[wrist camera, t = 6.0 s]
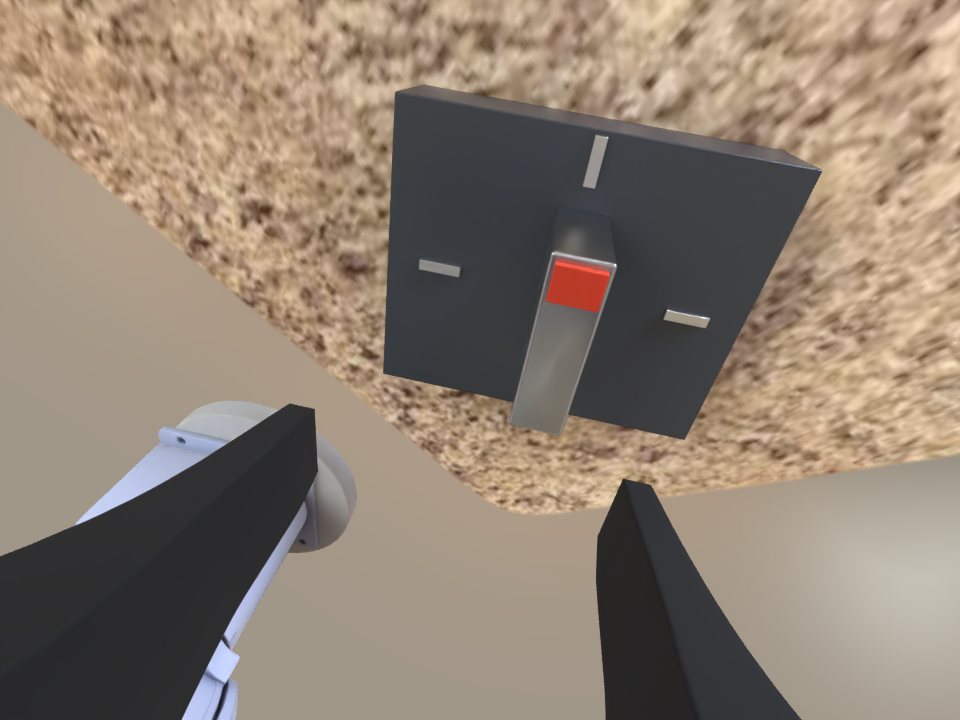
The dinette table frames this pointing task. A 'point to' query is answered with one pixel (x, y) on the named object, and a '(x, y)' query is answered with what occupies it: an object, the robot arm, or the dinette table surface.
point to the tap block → (525, 235)
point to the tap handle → (563, 319)
